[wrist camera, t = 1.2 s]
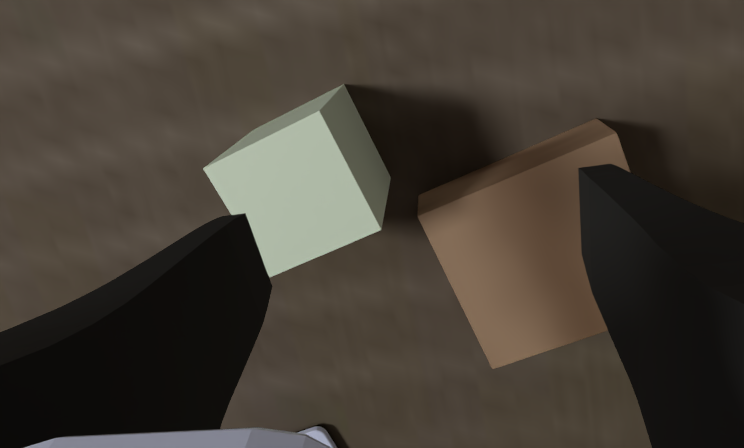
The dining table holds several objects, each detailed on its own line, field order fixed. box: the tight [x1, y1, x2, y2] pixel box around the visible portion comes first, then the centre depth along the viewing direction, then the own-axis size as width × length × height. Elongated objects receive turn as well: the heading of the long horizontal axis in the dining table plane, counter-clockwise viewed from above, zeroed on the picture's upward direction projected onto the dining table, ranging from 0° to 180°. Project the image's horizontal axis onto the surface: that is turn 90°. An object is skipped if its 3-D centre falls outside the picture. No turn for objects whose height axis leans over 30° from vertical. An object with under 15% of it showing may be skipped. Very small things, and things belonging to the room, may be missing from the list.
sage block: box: [203, 84, 391, 277], centre depth 22 cm, size 4×4×6 cm
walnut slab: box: [418, 118, 630, 369], centre depth 24 cm, size 8×8×3 cm
